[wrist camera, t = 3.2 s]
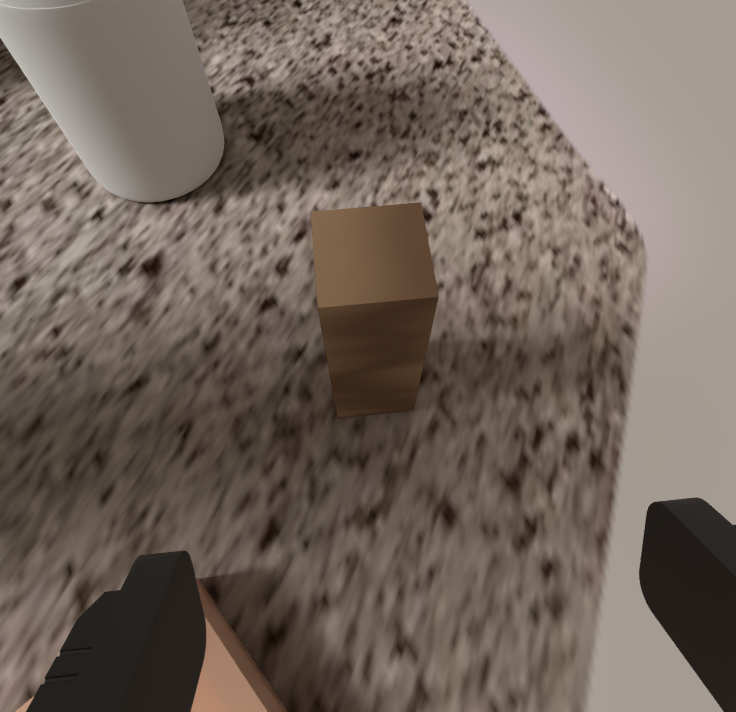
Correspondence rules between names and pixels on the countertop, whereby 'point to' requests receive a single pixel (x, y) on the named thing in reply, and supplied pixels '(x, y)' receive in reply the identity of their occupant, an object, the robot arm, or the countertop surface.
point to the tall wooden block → (374, 304)
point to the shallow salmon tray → (226, 670)
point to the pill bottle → (121, 89)
